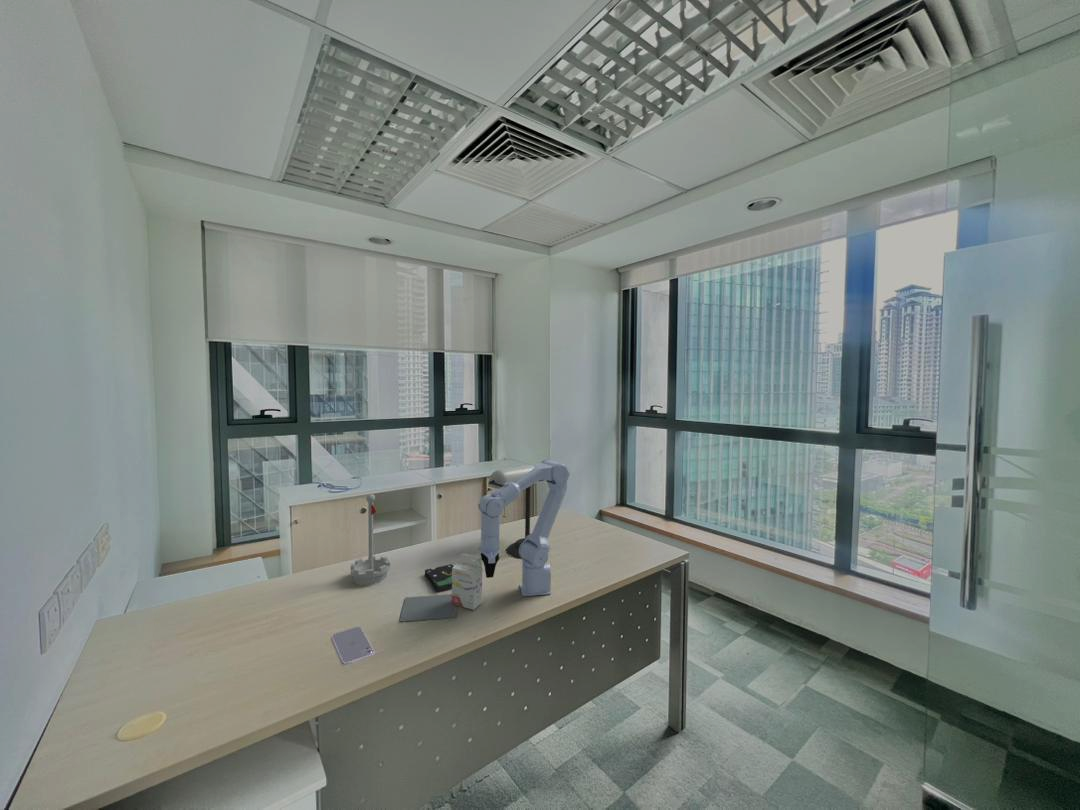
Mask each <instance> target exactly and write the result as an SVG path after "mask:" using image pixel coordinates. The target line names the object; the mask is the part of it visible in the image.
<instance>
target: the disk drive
mask: <svg viewBox="0 0 1080 810" xmlns="http://www.w3.org/2000/svg"><path fill="white" fill-rule="evenodd" d="M454 566H455V565H453V564H452V563H450V564H446V565H441V566H437V567H435V568H434V569H432V568H427V569H424V576H425V578H426V579H427V580H428V582H429V583H430V584H431V586H432V587H433V588H434V590H435V591H436V592H437V593H442V592H446V591H450V590H451V591H452V567H454Z"/></svg>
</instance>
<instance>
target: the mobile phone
mask: <svg viewBox="0 0 1080 810" xmlns="http://www.w3.org/2000/svg"><path fill="white" fill-rule="evenodd" d="M331 639H332V642H333V644H334V647H335V649H336V650H337V653H339V654H338V656H339V658H341V659H340V661H341V660H342V661H341V663H342V662H343V663H349V662H353V661H355V660H356V662H358V661H357V660H359V659H362V658H364V659H366V658H365V657H367V658H369V657H368V656H370V657H372V656H373V654H375V651H374V649H373V647H372V645H371V643H370V641H369V640H368V638H367V636H366V634H365V633H364V631H363V629H362V628H361V627H360V626H355V627H352V628H350V629H346V630H343V631H339V632H336V633H334V634H332V636H331ZM371 655H372V656H371ZM362 660H363V659H362ZM359 661H360V660H359ZM343 663H342V664H343ZM353 663H354V662H353Z"/></svg>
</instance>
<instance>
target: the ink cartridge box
mask: <svg viewBox="0 0 1080 810" xmlns="http://www.w3.org/2000/svg"><path fill="white" fill-rule="evenodd" d="M470 559H471V560H470ZM453 566H454V567H452V589H451V594H452V604H455V605H456V606H459V607H463V608H467V609H470V610H473V611H474V610H476V609H477V608H478V607H479V606H480V605H482V603H483V561H482V559H481V556H480V557H478V556H475V555H471V554H466V553H460V562H459V563H457V564H455V565H453Z"/></svg>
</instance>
